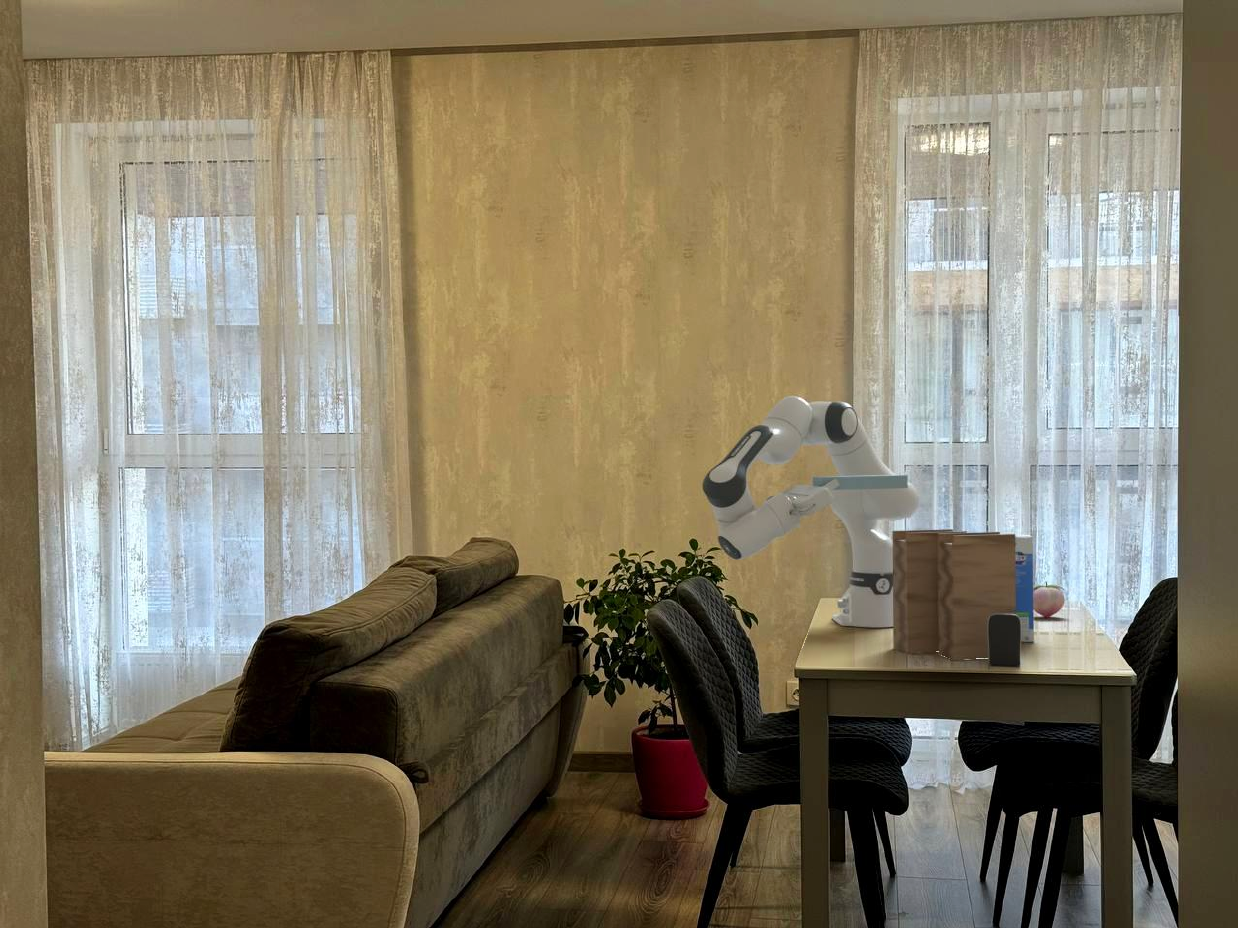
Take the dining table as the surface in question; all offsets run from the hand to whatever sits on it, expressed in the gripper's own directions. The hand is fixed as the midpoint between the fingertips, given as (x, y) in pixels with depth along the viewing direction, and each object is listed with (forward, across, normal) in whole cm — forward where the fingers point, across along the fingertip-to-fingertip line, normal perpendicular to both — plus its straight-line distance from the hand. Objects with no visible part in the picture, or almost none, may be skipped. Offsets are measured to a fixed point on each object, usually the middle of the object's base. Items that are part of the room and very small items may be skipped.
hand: (833, 481), depth 295 cm
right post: (+6, -12, +50) cm, 51 cm away
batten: (+5, 0, +5) cm, 7 cm away
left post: (0, 0, +47) cm, 47 cm away
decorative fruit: (+46, +40, +74) cm, 96 cm away
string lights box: (+20, +8, +59) cm, 63 cm away
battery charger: (+6, -23, +50) cm, 56 cm away
